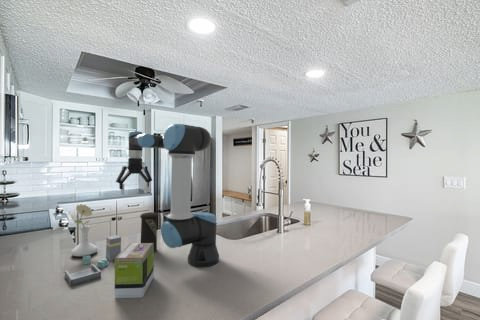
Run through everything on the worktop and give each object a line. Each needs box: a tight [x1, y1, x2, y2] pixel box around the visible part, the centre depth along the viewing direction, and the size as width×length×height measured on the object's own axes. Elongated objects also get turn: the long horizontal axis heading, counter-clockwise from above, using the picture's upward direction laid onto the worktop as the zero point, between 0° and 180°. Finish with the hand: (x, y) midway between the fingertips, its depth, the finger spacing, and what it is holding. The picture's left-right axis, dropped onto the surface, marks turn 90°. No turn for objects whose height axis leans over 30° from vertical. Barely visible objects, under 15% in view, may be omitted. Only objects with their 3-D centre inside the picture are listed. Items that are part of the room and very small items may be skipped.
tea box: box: [114, 242, 155, 299], centre depth 93 cm, size 15×10×15 cm, turn 5°
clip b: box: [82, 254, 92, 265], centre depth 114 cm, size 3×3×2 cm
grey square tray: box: [64, 263, 102, 287], centre depth 100 cm, size 11×10×2 cm
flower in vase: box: [70, 203, 98, 257], centre depth 123 cm, size 13×11×25 cm
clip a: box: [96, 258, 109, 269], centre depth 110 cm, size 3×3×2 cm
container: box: [139, 211, 159, 253], centre depth 130 cm, size 9×9×20 cm
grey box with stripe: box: [105, 234, 122, 261], centre depth 120 cm, size 5×5×10 cm
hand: (134, 194), depth 143 cm, fingers open, 13 cm apart
